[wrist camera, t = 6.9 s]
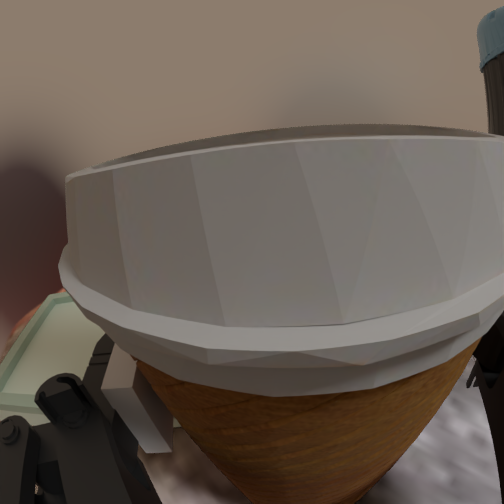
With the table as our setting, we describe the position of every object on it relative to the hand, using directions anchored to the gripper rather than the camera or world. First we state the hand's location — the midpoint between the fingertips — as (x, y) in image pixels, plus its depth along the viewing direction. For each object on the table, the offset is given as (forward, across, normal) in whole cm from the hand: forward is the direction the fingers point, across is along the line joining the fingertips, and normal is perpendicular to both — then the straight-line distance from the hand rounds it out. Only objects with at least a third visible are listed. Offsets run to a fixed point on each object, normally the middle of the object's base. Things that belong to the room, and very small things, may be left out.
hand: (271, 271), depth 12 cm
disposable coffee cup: (-5, 0, -7) cm, 8 cm away
